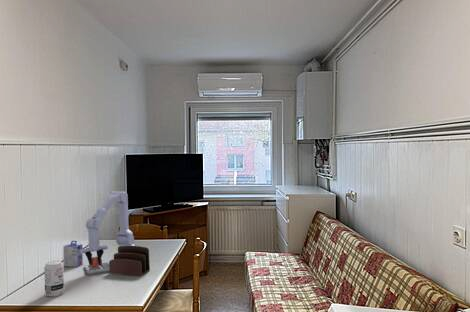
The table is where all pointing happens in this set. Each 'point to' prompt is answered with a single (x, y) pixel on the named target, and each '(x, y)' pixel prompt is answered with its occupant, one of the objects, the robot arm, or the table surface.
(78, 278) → the table surface
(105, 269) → the breaker panel
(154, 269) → the table surface
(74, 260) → the ink cartridge box
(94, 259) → the cap
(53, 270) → the supplement can
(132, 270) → the letter holder
